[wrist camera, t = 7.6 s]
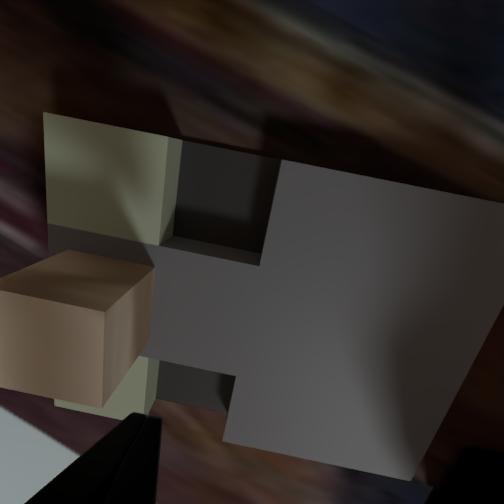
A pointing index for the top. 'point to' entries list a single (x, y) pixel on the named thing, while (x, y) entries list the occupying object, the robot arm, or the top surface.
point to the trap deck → (284, 290)
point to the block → (73, 325)
